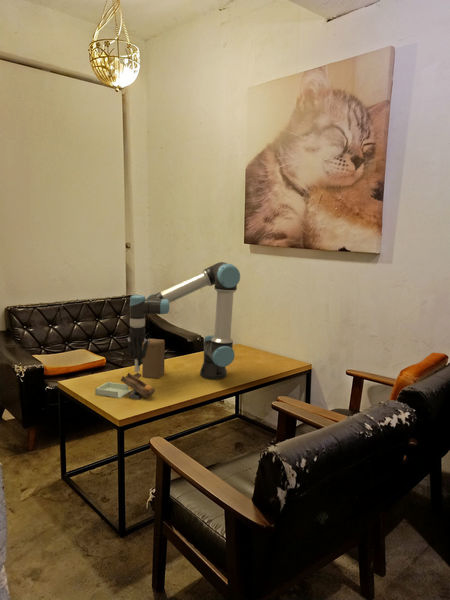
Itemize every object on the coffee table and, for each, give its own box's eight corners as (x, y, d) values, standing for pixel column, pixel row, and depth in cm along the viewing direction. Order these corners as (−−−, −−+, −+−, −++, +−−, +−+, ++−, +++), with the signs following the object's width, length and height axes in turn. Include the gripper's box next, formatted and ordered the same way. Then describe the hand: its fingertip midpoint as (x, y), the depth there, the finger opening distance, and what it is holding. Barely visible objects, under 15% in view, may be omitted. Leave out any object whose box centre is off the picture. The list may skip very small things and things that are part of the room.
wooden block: (158, 379, 249) (159, 343, 246) (141, 377, 251) (141, 342, 248) (164, 373, 259) (165, 339, 256) (148, 372, 261) (148, 338, 258)
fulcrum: (145, 394, 226) (145, 386, 225) (138, 399, 219) (138, 391, 218) (136, 393, 227) (136, 385, 226) (129, 398, 220) (129, 390, 220)
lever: (160, 388, 231) (162, 383, 230) (146, 398, 218) (149, 392, 217) (134, 372, 234) (137, 367, 233) (120, 381, 221) (122, 375, 220)
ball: (152, 391, 222) (153, 385, 221) (149, 394, 219) (150, 387, 218) (145, 389, 223) (147, 382, 222) (142, 392, 220) (143, 385, 219)
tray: (131, 391, 230) (131, 385, 230) (120, 398, 220) (120, 392, 219) (107, 387, 234) (107, 381, 234) (95, 394, 224) (95, 388, 223)
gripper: (152, 325, 229) (152, 370, 233) (129, 323, 233) (129, 367, 237) (145, 328, 222) (145, 375, 226) (122, 326, 226) (122, 371, 230)
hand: (137, 371), depth 231 cm, fingers closed
